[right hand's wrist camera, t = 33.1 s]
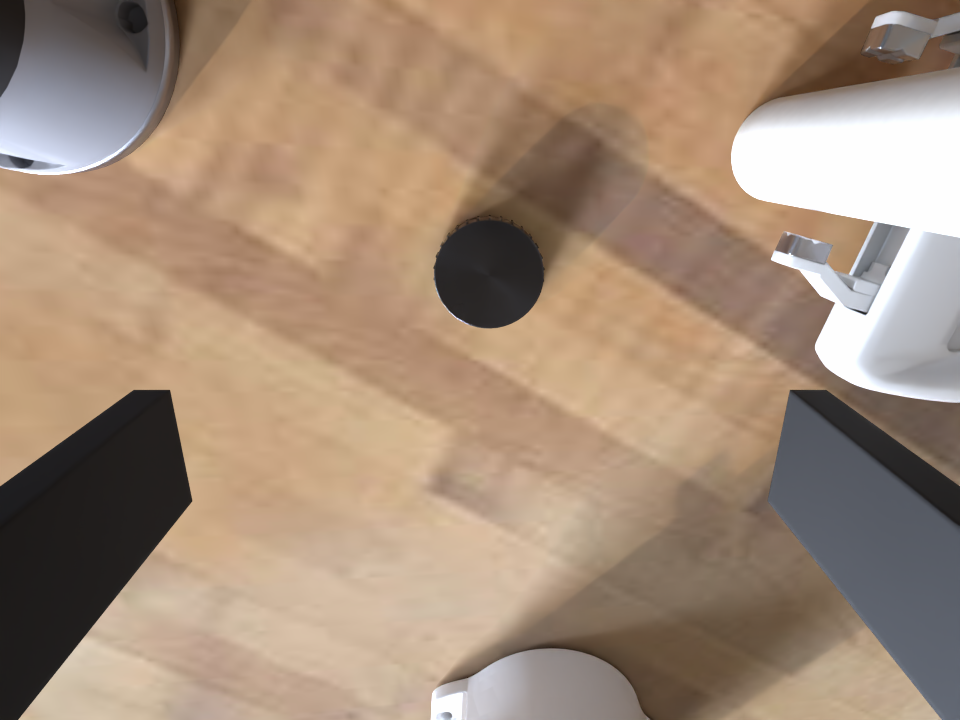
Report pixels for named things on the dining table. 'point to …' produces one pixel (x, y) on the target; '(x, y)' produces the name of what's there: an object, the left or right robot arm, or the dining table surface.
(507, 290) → the lid
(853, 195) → the white cylinder
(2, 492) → the right robot arm
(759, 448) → the dining table surface
